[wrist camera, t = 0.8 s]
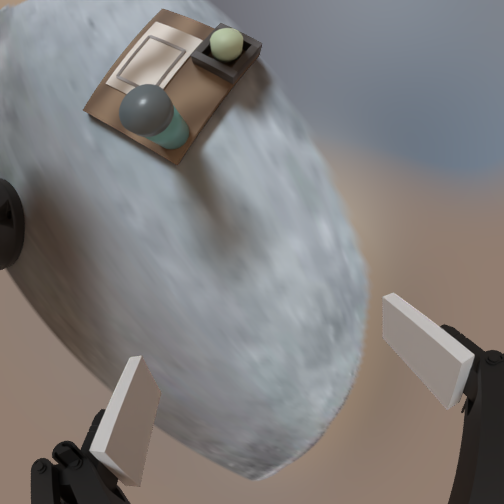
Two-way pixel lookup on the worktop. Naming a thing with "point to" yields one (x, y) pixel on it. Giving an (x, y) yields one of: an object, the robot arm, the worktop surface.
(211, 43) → the button
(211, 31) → the clipboard
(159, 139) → the marker
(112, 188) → the worktop surface
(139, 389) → the robot arm
